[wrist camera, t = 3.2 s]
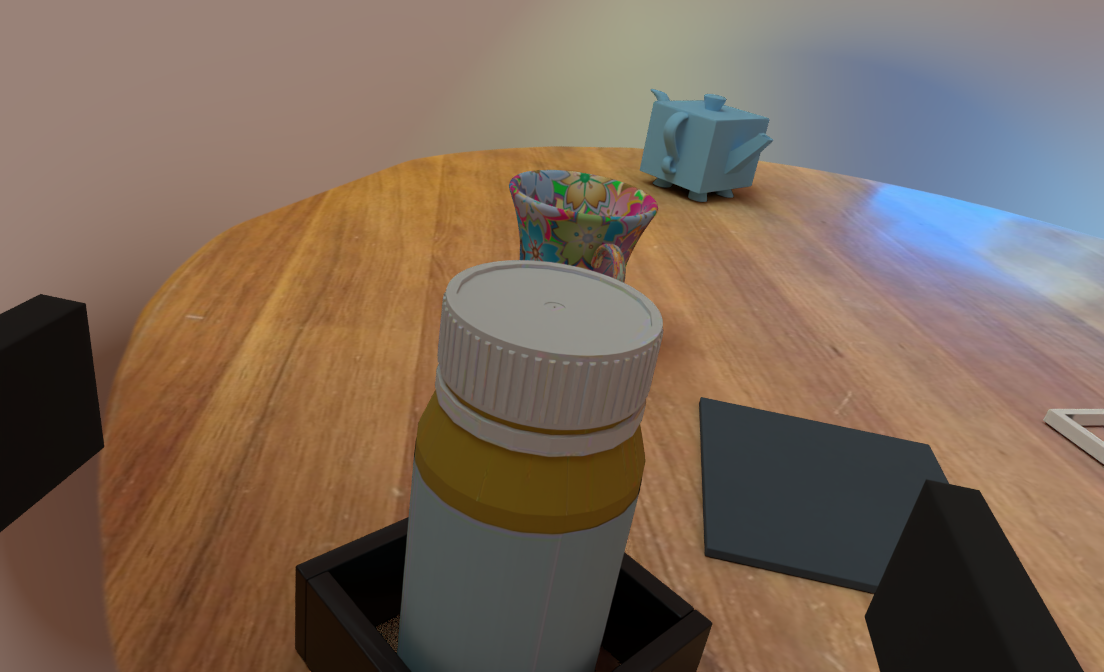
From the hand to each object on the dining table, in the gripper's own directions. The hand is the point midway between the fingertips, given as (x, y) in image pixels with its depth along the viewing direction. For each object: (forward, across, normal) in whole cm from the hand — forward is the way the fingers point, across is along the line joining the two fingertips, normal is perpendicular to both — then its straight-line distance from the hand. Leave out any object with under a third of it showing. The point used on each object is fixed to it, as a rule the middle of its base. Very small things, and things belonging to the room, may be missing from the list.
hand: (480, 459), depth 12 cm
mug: (+36, -1, -16) cm, 39 cm away
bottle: (+10, 0, -17) cm, 19 cm away
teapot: (+86, +8, -16) cm, 88 cm away
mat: (+26, +15, -16) cm, 34 cm away
